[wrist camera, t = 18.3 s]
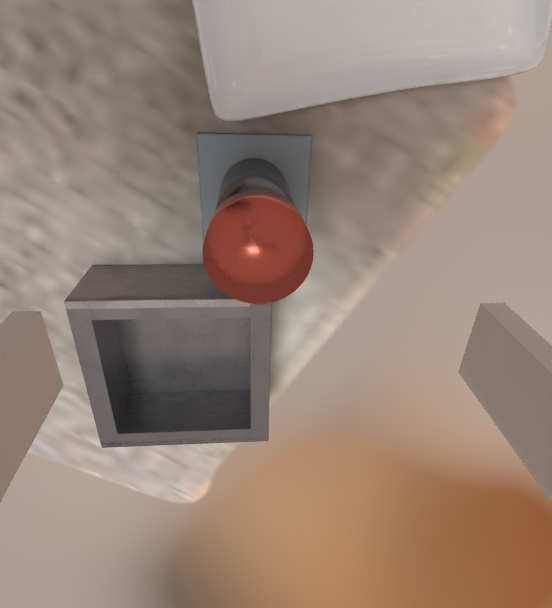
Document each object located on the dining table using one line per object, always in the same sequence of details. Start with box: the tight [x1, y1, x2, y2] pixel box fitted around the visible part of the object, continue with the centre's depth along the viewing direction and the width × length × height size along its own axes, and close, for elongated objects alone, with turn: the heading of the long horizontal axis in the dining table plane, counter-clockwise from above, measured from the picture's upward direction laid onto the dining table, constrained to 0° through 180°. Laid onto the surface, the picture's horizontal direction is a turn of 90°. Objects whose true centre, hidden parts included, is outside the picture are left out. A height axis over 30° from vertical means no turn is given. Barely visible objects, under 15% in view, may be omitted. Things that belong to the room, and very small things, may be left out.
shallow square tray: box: [64, 265, 271, 448], centre depth 34 cm, size 14×14×6 cm
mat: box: [197, 133, 312, 239], centre depth 31 cm, size 8×8×1 cm
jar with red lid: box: [203, 158, 313, 304], centre depth 25 cm, size 5×5×12 cm
